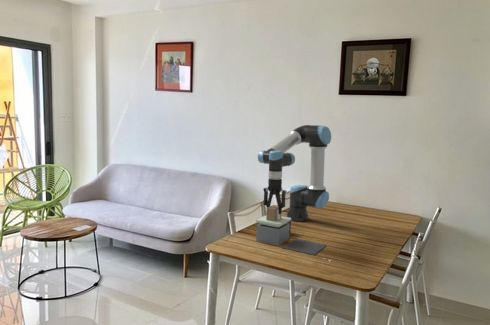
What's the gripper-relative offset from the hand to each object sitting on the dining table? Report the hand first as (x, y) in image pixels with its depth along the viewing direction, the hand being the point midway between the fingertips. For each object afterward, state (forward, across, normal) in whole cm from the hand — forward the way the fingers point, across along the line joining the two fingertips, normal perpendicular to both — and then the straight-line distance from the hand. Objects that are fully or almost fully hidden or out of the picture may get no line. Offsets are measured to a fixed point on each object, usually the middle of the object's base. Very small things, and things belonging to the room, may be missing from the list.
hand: (273, 218), depth 224 cm
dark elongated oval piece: (+13, 0, +14) cm, 19 cm away
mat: (+12, +20, -1) cm, 24 cm away
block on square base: (+3, 0, 0) cm, 3 cm away
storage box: (+12, 0, 0) cm, 12 cm away
